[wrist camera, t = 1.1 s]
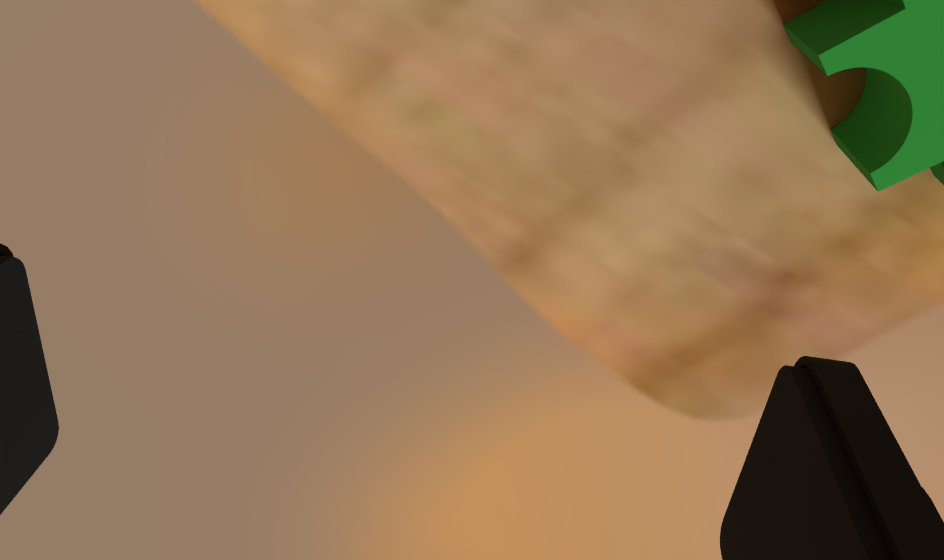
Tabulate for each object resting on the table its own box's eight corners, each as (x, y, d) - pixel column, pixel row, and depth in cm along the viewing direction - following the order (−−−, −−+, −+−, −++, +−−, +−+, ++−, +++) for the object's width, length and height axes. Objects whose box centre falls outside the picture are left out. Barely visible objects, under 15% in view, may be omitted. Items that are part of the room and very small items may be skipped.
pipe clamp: (746, -54, 27) (778, -35, 23) (856, -120, 26) (911, -112, 22) (864, 208, 31) (909, 262, 27) (964, 161, 30) (1027, 211, 26)
